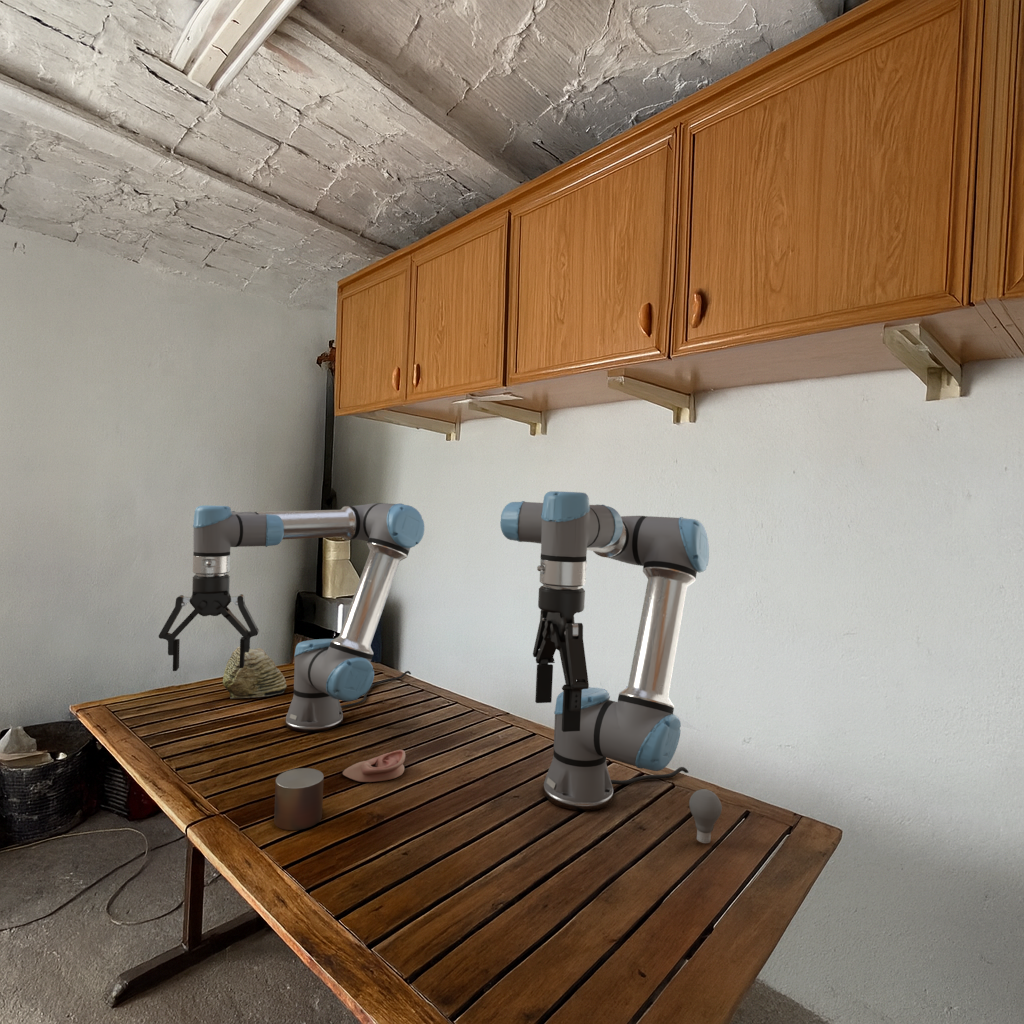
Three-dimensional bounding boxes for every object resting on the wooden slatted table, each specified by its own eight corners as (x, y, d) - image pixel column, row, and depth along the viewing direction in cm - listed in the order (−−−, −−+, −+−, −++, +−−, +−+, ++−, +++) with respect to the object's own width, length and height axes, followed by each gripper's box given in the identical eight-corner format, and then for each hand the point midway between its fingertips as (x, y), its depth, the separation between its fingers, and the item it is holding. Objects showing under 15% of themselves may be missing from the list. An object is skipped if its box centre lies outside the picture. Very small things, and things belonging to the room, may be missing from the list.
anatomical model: (336, 761, 142) (359, 742, 153) (336, 778, 142) (358, 758, 153) (392, 768, 139) (411, 749, 151) (391, 786, 139) (410, 765, 151)
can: (290, 835, 118) (291, 792, 118) (265, 818, 124) (266, 777, 124) (331, 818, 125) (332, 777, 125) (305, 803, 131) (307, 764, 131)
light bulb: (682, 833, 125) (685, 783, 125) (712, 833, 125) (714, 783, 125) (694, 850, 119) (696, 797, 119) (725, 850, 119) (727, 798, 119)
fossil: (218, 695, 195) (220, 647, 195) (278, 685, 208) (279, 640, 207) (228, 703, 189) (230, 653, 188) (289, 692, 201) (290, 645, 201)
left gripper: (144, 576, 135) (142, 675, 135) (269, 576, 142) (267, 669, 143) (153, 572, 142) (151, 666, 143) (271, 571, 149) (269, 661, 150)
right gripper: (519, 576, 114) (513, 693, 115) (566, 598, 90) (559, 746, 90) (558, 576, 116) (553, 691, 117) (615, 598, 92) (608, 743, 92)
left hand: (209, 668), depth 143 cm, fingers open, 13 cm apart
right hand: (556, 715), depth 104 cm, fingers open, 13 cm apart
